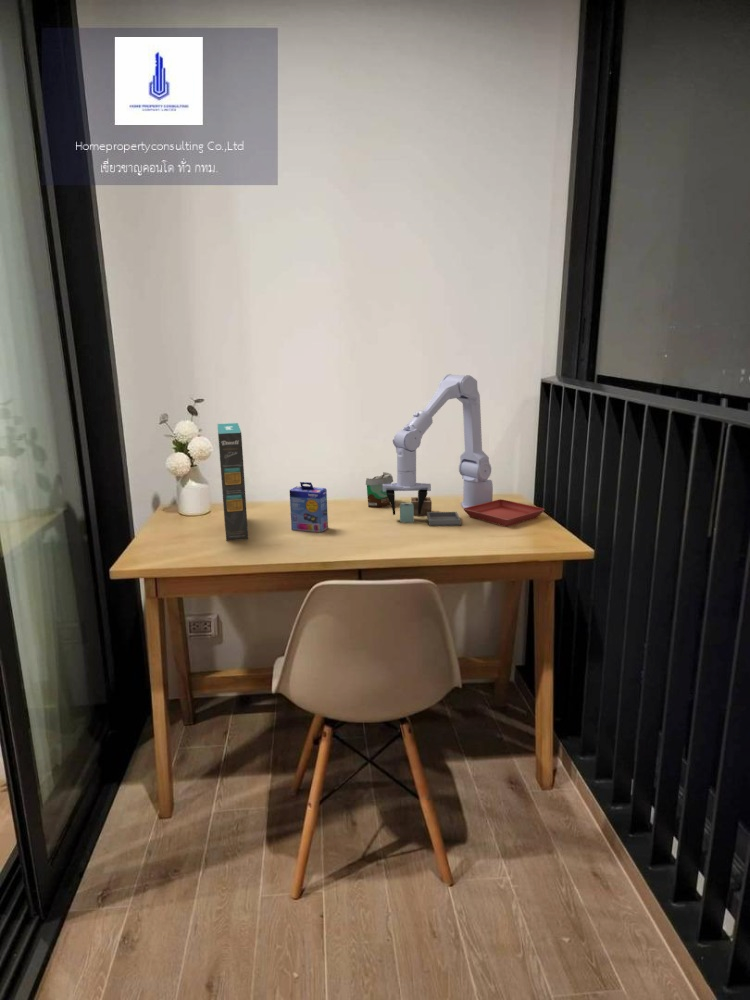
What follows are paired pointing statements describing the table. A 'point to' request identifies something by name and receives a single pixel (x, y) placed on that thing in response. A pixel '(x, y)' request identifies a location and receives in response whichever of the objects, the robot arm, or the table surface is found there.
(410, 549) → the table surface
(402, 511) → the teal block
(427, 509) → the walnut block
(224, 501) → the cake mix box
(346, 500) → the table surface
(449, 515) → the tray
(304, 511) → the ink cartridge box
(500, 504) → the plant saucer
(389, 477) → the food container
